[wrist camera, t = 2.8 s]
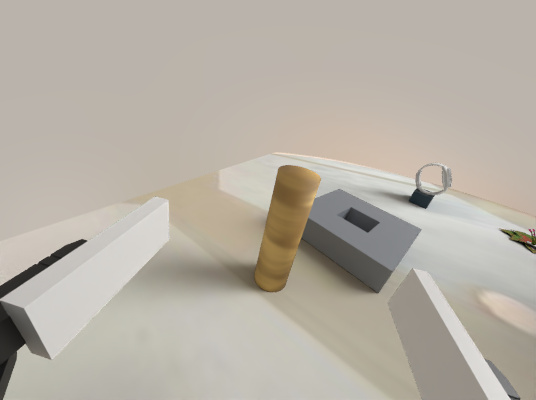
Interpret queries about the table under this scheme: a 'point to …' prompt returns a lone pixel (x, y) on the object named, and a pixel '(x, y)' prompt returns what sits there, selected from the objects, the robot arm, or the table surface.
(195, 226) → the table surface
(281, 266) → the ochre pin
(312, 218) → the hole block
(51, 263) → the robot arm
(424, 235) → the table surface
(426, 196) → the watch
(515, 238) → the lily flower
